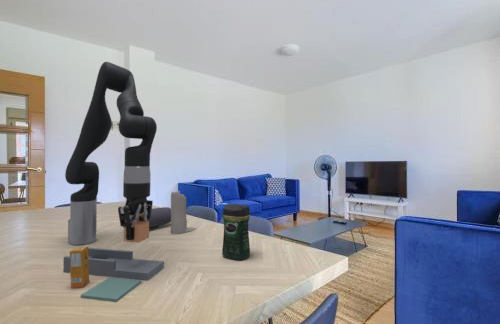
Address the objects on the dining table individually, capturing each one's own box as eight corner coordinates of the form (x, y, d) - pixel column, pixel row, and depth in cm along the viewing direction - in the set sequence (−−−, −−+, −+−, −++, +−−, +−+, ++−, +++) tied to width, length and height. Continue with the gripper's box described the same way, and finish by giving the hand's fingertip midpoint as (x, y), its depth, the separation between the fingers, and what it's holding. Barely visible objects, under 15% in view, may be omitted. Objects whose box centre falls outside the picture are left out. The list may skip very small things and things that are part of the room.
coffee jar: (253, 255, 93) (253, 204, 93) (242, 262, 86) (242, 207, 87) (230, 250, 98) (231, 201, 98) (218, 257, 91) (219, 204, 91)
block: (123, 241, 76) (124, 224, 76) (134, 236, 81) (134, 220, 81) (139, 242, 75) (139, 225, 75) (148, 237, 80) (149, 221, 80)
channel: (63, 272, 78) (63, 257, 78) (87, 260, 87) (87, 247, 87) (147, 280, 73) (147, 264, 73) (164, 267, 82) (164, 253, 82)
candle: (199, 228, 130) (199, 189, 130) (177, 235, 118) (178, 191, 118) (188, 226, 134) (189, 188, 134) (167, 232, 122) (167, 190, 122)
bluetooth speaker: (162, 223, 140) (163, 205, 140) (173, 226, 135) (173, 207, 135) (121, 232, 122) (121, 211, 122) (132, 236, 116) (132, 214, 116)
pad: (80, 297, 63) (80, 295, 63) (109, 279, 73) (109, 277, 73) (116, 301, 62) (116, 299, 62) (141, 282, 72) (141, 280, 72)
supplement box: (76, 282, 71) (76, 246, 71) (89, 282, 71) (89, 246, 71) (68, 288, 68) (69, 250, 68) (82, 288, 68) (83, 250, 68)
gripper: (133, 183, 71) (132, 245, 71) (160, 180, 85) (159, 231, 85) (109, 182, 72) (108, 243, 72) (140, 179, 86) (139, 230, 86)
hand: (136, 236), depth 78 cm, fingers closed on block, 5 cm apart
